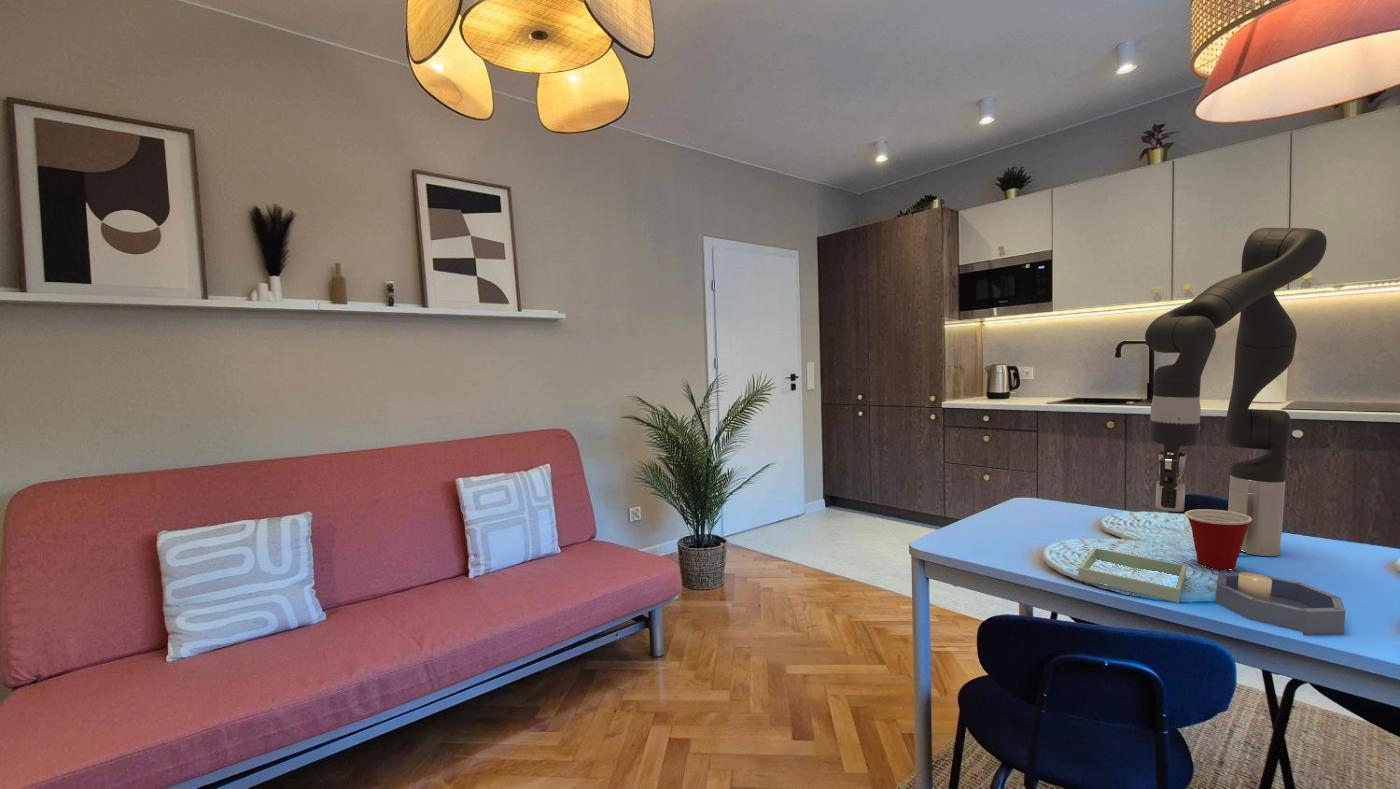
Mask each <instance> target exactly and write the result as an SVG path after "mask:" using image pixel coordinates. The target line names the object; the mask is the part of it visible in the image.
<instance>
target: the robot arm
mask: <svg viewBox="0 0 1400 789" xmlns="http://www.w3.org/2000/svg"><path fill="white" fill-rule="evenodd" d="M1327 241H1328V240H1327V237H1326V234H1325V233H1324V232H1323V231H1322V230H1319V229H1314V228H1307V227H1306V228H1304V227H1301V228H1300V227H1260V228H1257V229H1255V230H1253V231H1252V232H1251V234H1250V235H1248V237H1247V238H1246V241H1245V244H1244V246H1243V250H1242V254H1241V269H1240V270H1241V271H1240V272H1241V273H1239V274H1235V275H1233V276H1229V277H1226V278H1224V279H1221V280H1220V281H1217V282H1215V283H1214V284H1212V285H1210V286H1208V288H1206V289H1205V290H1204V291H1202V292H1201V293H1200V294H1198V295H1197V296H1196V297H1194V298H1193V299H1192V300H1191V301H1189V302H1187V303H1185V304H1181V305H1180V306H1178V307H1175V308H1173V309H1170V310H1169V311H1167V312H1165V313H1163V314H1161V315H1160V316H1158V317H1157V318H1155V319H1154V320H1153V321H1152V322H1151V323H1150V324H1149V325H1148V327H1147V329H1146V331H1145V333H1144V339H1145V340H1144V341H1145V344H1146V345H1147V347H1148V348H1149V349H1150V350H1152V351H1154V352H1157V353H1161V354H1162V353H1164V354H1179V355H1178V357H1177V358H1176V360H1175V362H1174V363H1173V364H1168V365H1162V366H1159V367H1158V368H1156V369H1155V371H1154V376H1153V388H1152V390H1153V393H1152V401H1151V404H1150V415H1149V416H1150V417H1149V436H1148V438H1149V441H1150V442H1152V443H1154V444H1160V445H1163V450H1160V452H1159V453H1158V458H1157V459H1158V461H1159V464H1158V465H1159V466H1158V474H1159V481H1160V482H1159V484H1160V486H1161V488H1162V495H1161V506H1162V507H1166V508H1175V507H1176V496H1177V488H1178V483H1182V482H1183V481H1182V480H1183V478H1184V474H1185V466H1186V464H1185V463H1186V461H1187V454H1188V453H1187V452H1185V450H1183V447H1191V446H1196V445H1198V444H1199V443H1200V427H1201V412H1202V411H1201V410H1202V409H1201V408H1202V407H1201V400H1200V399H1201V397H1200V396H1201V382H1202V381H1201V380H1202V375H1203V372H1204V370H1205V367H1206V364H1207V362H1208V360H1209V358H1210V354H1211V352H1212V350H1213V348H1214V345H1215V343H1216V338H1217V332H1216V329H1219V328H1221V327H1223V326H1224V325H1226V324H1228V323H1229V322H1230V321H1231V320H1232V319H1233V318H1234V317H1236V316H1237V315H1239V324H1238V330H1237V335H1236V336H1237V337H1236V343H1235V350H1234V352H1235V354H1234V366H1233V367H1234V368H1233V380H1232V388H1231V392H1230V397H1229V403H1228V407H1227V413H1226V418H1225V422H1224V423H1225V424H1224V439H1225V442H1226V443H1227V444H1228V445H1229V446H1230V447H1234V448H1240V449H1255V450H1266V453H1264V454H1263V455H1261V456H1259V457H1258V456H1257V457H1256V458H1252V459H1247V460H1242V461H1241V460H1240V461H1237V462H1236V461H1235V462H1233V463H1232V464H1231V467H1230V472H1229V473H1230V474H1229V489H1228V490H1229V492H1228V505H1227V506H1228V508H1227V511H1231V512H1237V513H1241V514H1245V515H1247V516H1250V517H1251V518H1252V521H1251V522H1250V523H1249V525H1248V528H1247V531H1246V534H1245V537H1244V540H1243V544H1242V547H1241V550H1243V551H1245V552H1246V553H1245V554H1247V555H1248V554H1249V555H1254V556H1255V555H1256V556H1262V557H1278V556H1280V554H1281V547H1282V546H1281V544H1282V533H1283V522H1284V521H1283V520H1284V519H1283V518H1284V506H1285V490H1286V475H1287V464H1288V463H1287V462H1288V454H1289V446H1290V441H1291V436H1292V435H1291V434H1292V420H1291V416H1290V414H1289V413H1288V412H1287V411H1285V410H1282V409H1281V410H1280V409H1263V408H1262V409H1257V408H1256V409H1255V408H1250V406H1251V404H1252V402H1254V399H1255V398H1256V397H1257V396H1258V394H1259V393H1261V391H1262V390H1263V389H1264V388H1265V387H1267V386H1268V385H1269V384H1271V383H1272V382H1273V381H1274V380H1275V379H1277V378H1278V377H1279V376H1281V375H1282V373H1284V372H1285V371H1286V370H1287V368H1289V366H1290V365H1291V364H1292V362H1293V359H1294V356H1295V355H1294V354H1295V348H1296V342H1297V337H1298V336H1297V335H1298V334H1297V329H1296V326H1295V323H1294V322H1293V320H1292V318H1291V317H1290V315H1289V314H1288V313H1287V312H1286V310H1285V309H1284V307H1283V306H1282V304H1281V303H1280V301H1279V299H1278V298H1277V296H1276V294H1275V291H1277V290H1280V288H1283V287H1285V286H1286V285H1288V284H1291V283H1292V282H1294V281H1296V280H1298V279H1300V278H1302V277H1303V276H1305V275H1307V274H1308V273H1310V272H1312V270H1314V269H1315V268H1316V267H1317V266H1318V265H1319V264H1320V262H1321V261H1322V259H1323V258H1324V256H1325V253H1326V250H1327V246H1328V245H1327V244H1328V243H1327ZM1182 484H1183V483H1182Z"/></svg>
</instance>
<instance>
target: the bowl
mask: <svg viewBox="0 0 1400 789" xmlns="http://www.w3.org/2000/svg"><path fill="white" fill-rule="evenodd" d="M1239 573H1240V572H1239ZM1239 573H1236V572H1235V573H1218V574H1217V582H1216V591H1215V604H1217V605H1220V606H1221V607H1224V608H1225V609H1228V610H1229V611H1231V612H1234V613H1236V614H1238V615H1240V616H1242V617H1245V618H1246V619H1248V620H1251V621H1255V622H1259V623H1263V624H1268V625H1272V626H1276V627H1281V628H1286V629H1290V630H1294V631H1299V632H1302V635H1305V636H1306V635H1307V636H1312V635H1315V636H1316V635H1317V636H1318V635H1344V633H1345V623H1346V612H1347V610H1346V607H1345V605H1344V603H1343V602H1344V601H1343V599H1342V597H1339V596H1337V595H1334V594H1331V593H1329V592H1327V591H1324V590H1322V589H1319V588H1316V587H1313V586H1310V585H1309V584H1306V583H1303V582H1301V581H1295V580H1290V579H1289V580H1288V579H1284V578H1280V577H1274V576H1271V575H1270V576H1269V575H1264V574H1262V575H1263V576H1266V577H1268V578H1270V579H1272V587H1271V599H1270V602H1269V601H1264V600H1260V599H1255V598H1253V597H1251V596H1249V595H1246V594H1244V593H1242V592H1240V591H1238V578H1239Z"/></svg>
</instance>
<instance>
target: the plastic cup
mask: <svg viewBox="0 0 1400 789" xmlns="http://www.w3.org/2000/svg"><path fill="white" fill-rule="evenodd" d="M1184 514H1185V517H1186V518H1187V519H1188V521H1189V524H1190V528H1191V533H1192V539H1193V545H1194V550H1195V552H1196V553H1195V554H1196V560H1197V563H1199V564H1201V565H1203V566H1206V567H1209V568H1213V569H1219V570H1229V569H1234V568H1235V569H1236V565H1237V562H1238V559H1239V556H1240V554H1241V552H1240V551H1241V547H1242V544H1243V540H1244V537H1245V534H1246V531H1247V528H1248V525H1249V523H1250V522H1251V521H1252V518H1251V517H1250V516H1247V515H1245V514H1241V513H1237V512H1231V511H1228V510H1223V509H1208V508H1205V509H1202V508H1201V509H1192V510H1187V511H1185V512H1184ZM1199 564H1198V565H1199ZM1201 565H1200V566H1201ZM1203 566H1202V567H1203ZM1206 567H1205V568H1206ZM1209 568H1208V569H1209ZM1213 569H1212V570H1213ZM1235 569H1234V570H1235ZM1219 570H1218V571H1219Z"/></svg>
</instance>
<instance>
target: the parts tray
mask: <svg viewBox="0 0 1400 789" xmlns="http://www.w3.org/2000/svg"><path fill="white" fill-rule="evenodd" d="M1088 553H1089V554H1087V556H1086V557H1085V559H1083V562H1081V563H1080V565H1079V567H1078V570H1077V572H1078V574H1077V580H1078V581H1081V582H1086V583H1090V584H1095V585H1098V584H1099V583H1102V584H1107V585H1108V588H1110V589H1117V590H1120V591H1125V592H1128V593H1129V592H1130V593H1133V594H1138V595H1143V596H1146V597H1151V598H1156V599H1159V600H1164V601H1169V602H1172V603H1177V604H1179V603H1180V599H1181V596H1182V593H1181V591H1182V592H1183V589H1182V588H1184V585H1183V584H1185V582H1184V581H1186V578H1185V577H1187V564H1183V563H1182V564H1181V563H1180V564H1179V563H1175V562H1171V561H1170V562H1169V561H1165V560H1161V559H1160V560H1159V559H1156V558H1150V557H1147V556H1146V557H1144V556H1140V555H1134V554H1130V553H1124V552H1120V551H1114V550H1110V549H1103V548H1098V547H1093V548H1092V549H1091V550H1090V552H1088ZM1096 559H1097V560H1101V561H1106V562H1112V563H1115V565H1116V567H1118V565H1117V564H1119V566H1121V565H1123V567H1125V566H1128V567H1131V568H1133V569H1130V570H1134V571H1133V572H1137V571H1136V570H1138V571H1141V570H1139V569H1142V570H1143V569H1146V570H1152V571H1158V572H1164V573H1167V574H1172V575H1177V576H1179V578H1178V582H1177V585H1176V588H1174V587H1169V586H1164V585H1160V584H1155V583H1151V582H1146V581H1141V580H1137V579H1132V578H1128V577H1123V576H1118V575H1114V574H1109V573H1105V572H1100V571H1095V570H1091V569H1089V568H1090V567H1091V566H1092V564H1093V563H1094V562H1096V561H1095V560H1096ZM1124 565H1125V566H1124ZM1128 567H1127V568H1128ZM1137 568H1138V569H1137ZM1117 569H1118V568H1117ZM1138 573H1139V572H1138ZM1133 574H1134V573H1133ZM1110 586H1111V587H1110Z"/></svg>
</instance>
